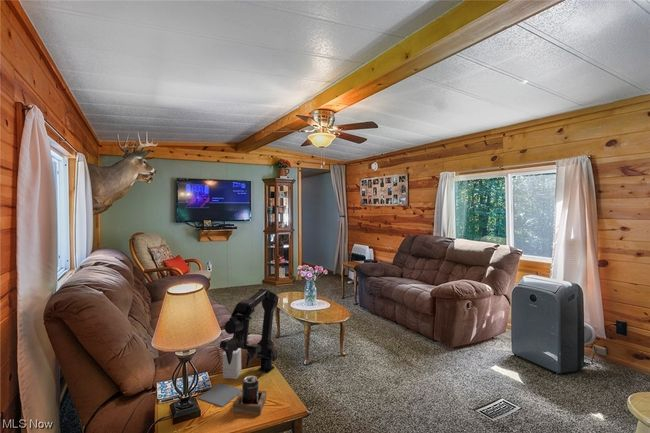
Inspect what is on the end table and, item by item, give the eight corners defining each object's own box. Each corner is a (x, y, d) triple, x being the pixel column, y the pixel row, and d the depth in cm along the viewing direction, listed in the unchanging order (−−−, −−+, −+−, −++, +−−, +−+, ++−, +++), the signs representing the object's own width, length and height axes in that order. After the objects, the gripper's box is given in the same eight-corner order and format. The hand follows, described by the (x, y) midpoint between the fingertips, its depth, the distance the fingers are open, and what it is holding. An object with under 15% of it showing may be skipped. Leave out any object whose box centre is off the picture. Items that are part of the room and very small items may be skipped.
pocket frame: (241, 397, 154) (241, 390, 154) (266, 398, 154) (266, 391, 153) (233, 413, 143) (233, 405, 142) (260, 414, 142) (260, 406, 142)
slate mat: (219, 383, 165) (219, 382, 165) (243, 390, 159) (243, 389, 159) (198, 398, 153) (198, 397, 153) (222, 407, 147) (222, 406, 147)
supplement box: (241, 371, 177) (241, 348, 176) (236, 379, 169) (236, 354, 169) (227, 370, 178) (227, 347, 177) (222, 378, 170) (222, 353, 170)
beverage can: (261, 404, 149) (261, 377, 149) (250, 412, 143) (250, 384, 143) (249, 399, 153) (250, 373, 152) (238, 407, 147) (238, 380, 146)
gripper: (214, 330, 152) (209, 367, 150) (250, 336, 146) (246, 374, 144) (228, 326, 162) (224, 360, 160) (263, 332, 156) (259, 367, 154)
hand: (238, 366), depth 154 cm, fingers open, 9 cm apart
